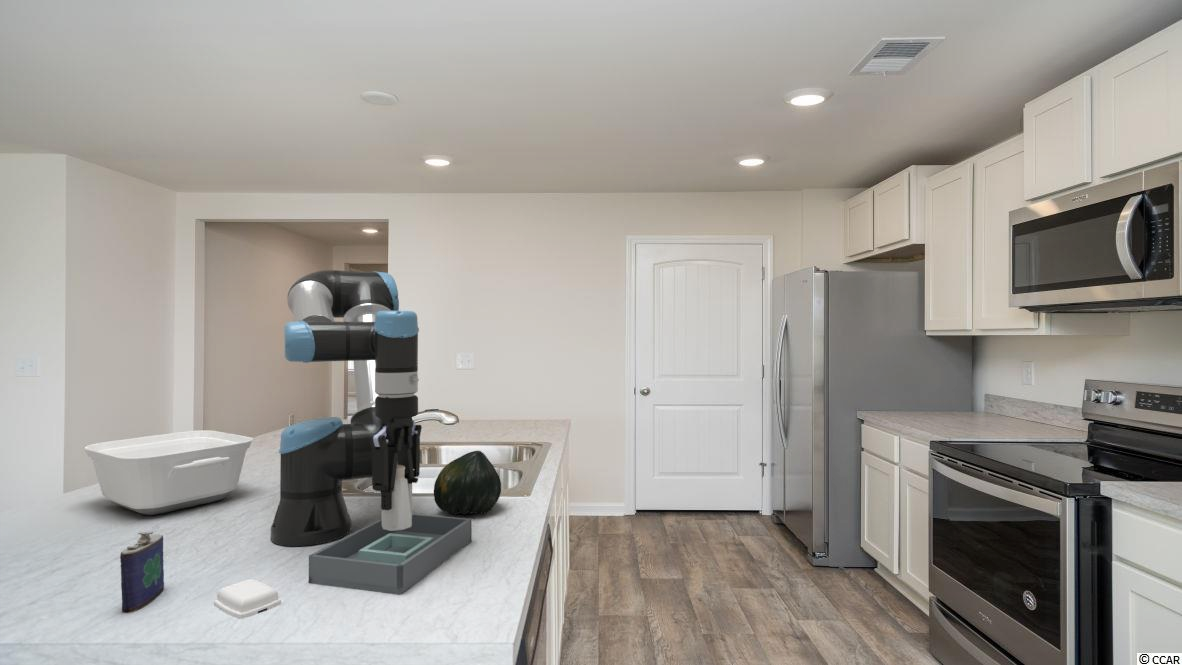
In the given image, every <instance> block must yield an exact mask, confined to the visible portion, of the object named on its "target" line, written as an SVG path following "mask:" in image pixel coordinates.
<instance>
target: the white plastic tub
mask: <svg viewBox="0 0 1182 665" xmlns="http://www.w3.org/2000/svg"><path fill="white" fill-rule="evenodd" d="M253 440H254V438H253V437H251V436H246V435H245V436H244V435H240V434H239V435H238V434H235V433H230V432H229V433H228V432H223V431H217V430H210V429H209V430H206V429H205V430H203V429H201V430H187V431H178V432H170V433H163V434H156V435H148V436H140V437H132V438H125V439H117V440H111V441H110V440H109V441H102V442H97V443H93V444H88V445H86V446H85V447H84V451H85V453H86V454H87V456H88V457H89V458H90V459H91V460H92V463H93V467H94V471H95V473H96V478H97V480H98V484H99V487H100V488H99V489H100V491H101V495H102V496H103V497H104V498H105V499H106V500H107V501H110V502H111V503H112V504H113V505H117V506H119V507H121V508H124V509H128V510H131V511H133V512H136V513H139V514H141V515H147V516H155V515H162V514H165V513H170V512H174V511H179V510H183V509H188V508H191V507H196V506H201V505H205V504H209V503H215V502H218V501H221V500H223V499H224V498H226V497H227V496H229V495H230V494H231V493H232V492H234V490H236V488H237V486H239V481H240V477H241V473H242V469H243V464H244V460H245V456H246V453H247V451H248V449H250V446H251V444H252V442H253Z"/></svg>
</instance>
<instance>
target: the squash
mask: <svg viewBox="0 0 1182 665" xmlns="http://www.w3.org/2000/svg"><path fill="white" fill-rule="evenodd" d="M501 491H502V482H501V478H500V475H499V474H498V472H497V470H496V467H495V466H494V465H493V463H492V462H491V461H490V460H489V459H488V457H487V456H486V455H485V453H484V452H482V451H481V450H473V451H470V452H466V453H465V454H463V455H461V456H459V457H457V458H455V459H454V460H452V461H450V462H449V463H447V464H446V465H445V466H444V467H442V469H441V470H440V472H439V473H438V475H437V477H436V478H435V481H434V485H433V497H434V499H433V500H434V502H435V504H436V506H437V507H438V508H439V510H441V511H442V512H445V513H448V514H450V515H459V513H460V514H462V515H465V514H468V513H470V514H478V515H479V514H482V515H483V514H486V513H488V512H490V511H491V510H492V508H494V507H495V505H496V504H497V503H498V501H499V499H500V497H501V493H502V492H501Z"/></svg>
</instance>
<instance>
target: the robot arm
mask: <svg viewBox="0 0 1182 665" xmlns="http://www.w3.org/2000/svg"><path fill="white" fill-rule="evenodd" d="M287 305H288V309H289V310H290V313H291V314H293V321H289V322H287V323H285V325H284V357H285V359H286V360H287V361H289V362H296V363H297V362H299V363H300V362H301V363H305V364H307V363H317V362H318V363H319V362H344V361H345V362H352V361H353V372H354V384H355V385H354V386H355V398H356V408H357V409H356V410H357V411H355V412H354V413H353V414H352V416H351V418H350V423H346V424H344V423H343V420H342V418H341V417H337V416H332V417H320V418H319V417H318V418H313V419H309V420H304V421H301V422H297V423H294V424H291V425H288V426H287V427H286V428H284V429H283V430H282V432H281V434H280V441H279V442H280V443H279V445H280V446H279V450H278V453H279V455H280V475H279V476H280V477H279V478H280V479H279V480H280V481H279V482H280V485H279V492H280V496H279V503H278V506H277V508H276V511H275V515H274V518H273V522H272V524H271V526H270V540H271V542H272V543H273V544H276V545H280V546H288V547H302V546H303V547H304V546H305V547H306V546H313V545H321V544H323V543H324V544H325V543H328V542H332V541H333V542H334V541H335V540H339V539H342V538H344V536H345V537H346V536H348V534H350V532H351V531H352V518H351V516H350V514H349V511H348V507H347V504H346V501H345V499H344V496H343V481H348V480H349V481H350V480H358V479H359V480H360V479H361V480H362V479H369V478H372V479H371V480H372V482H371V483H372V485H371V486H372V490H373V491H377V492H380V508H381V519H382V527H390V528H396V527H397V490H394V485H395V477H396V468H397V465H403V466H405V475H404V476H405V477H404V478H406V479H407V482H408V491H409V500H410V510H411V519H412V514H413V484H417V483H418V481H419V477H420V474H421V472H420V469H421V468H420V467H421V466H420V465H421V464H420V459H421V457H420V455H421V454H420V453H421V433H422V428H423V427H422V425H421V424H416V422H415V420H413V418H414V417H416V416H418V414H419V397H418V395H416V393H418V391H419V387H418V386H419V384H418V383H419V376H418V373H419V372H418V371H419V367H418V366H419V363H418V362H419V360H418V359H419V358H418V356H419V354H418V353H419V347H418V346H419V331H420V328H419V323H418V315H417V314H418V313H416V312H415V311H412V310H399V309H400V308H399V307H400V301H399V290H398V286H397V283H396V281H395V278H394V277H393V276H392V275H391V274H390V273H388V272H385V271H384V272H382V271H381V272H380V271H376V270H372V271H359V270H357V271H356V270H355V271H354V270H340V269H339V270H334V269H325V270H323V269H322V270H318V271H314V272H311V273H309V274H306V275H304V276H302V277H301V278H299V279H297V280H296V281H295V282H294V283H293V284H292V285H291V287H290V289H289V291H288V293H287ZM336 318H337V319H339V318H342V319H343V321H335V319H336Z"/></svg>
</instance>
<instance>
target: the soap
mask: <svg viewBox="0 0 1182 665" xmlns="http://www.w3.org/2000/svg"><path fill="white" fill-rule="evenodd" d="M280 603H281V604H282V600H281V598H280V597H279V592H278V590H276V589H275V588H274V587H272V586H270V585H268V584H266V583H264V582H262V581H259V580H256V579H254V578H249V579H245V580H243V581H238V582H236V583H233V584H230V585H228V586H224V587H222V588H220V589H219V590H218V591H217V594H216V599H215V600H214V601H213V605H214V607H216V608H217V609H218V608H219V609H218V610H220V611H221V610H222V611H221V612H223V613H225V614H227V615H230V616H231V617H233V616H234V618H236V617H237V618H236V619H239V620H242V619H246V618H249V617H251V616H255V615H257V613H258V614H259V612H260V611H263V610H265V609H266V610H267V611H268V610H271V609H273V608H276V607H278V606H279V604H280ZM281 604H280V605H281ZM277 605H278V606H277ZM275 606H276V607H275ZM272 607H273V608H272ZM245 617H246V618H245Z"/></svg>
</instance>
